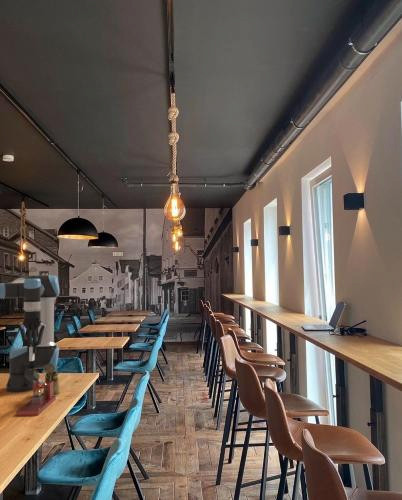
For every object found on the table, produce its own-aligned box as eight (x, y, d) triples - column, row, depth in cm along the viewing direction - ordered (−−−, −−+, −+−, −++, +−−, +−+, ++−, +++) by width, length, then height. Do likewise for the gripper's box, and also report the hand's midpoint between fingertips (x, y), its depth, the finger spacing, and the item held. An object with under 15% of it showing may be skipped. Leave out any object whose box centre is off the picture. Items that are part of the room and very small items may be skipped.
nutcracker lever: (39, 389, 219) (40, 384, 220) (48, 389, 219) (48, 384, 220) (23, 375, 199) (24, 370, 201) (33, 375, 199) (34, 370, 201)
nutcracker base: (36, 400, 222) (36, 380, 222) (55, 399, 222) (55, 380, 223) (16, 415, 197) (16, 393, 197) (38, 415, 197) (38, 393, 198)
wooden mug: (39, 398, 225) (39, 363, 226) (44, 391, 238) (45, 358, 239) (56, 397, 226) (56, 363, 227) (61, 390, 239) (61, 358, 240)
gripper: (15, 311, 201) (14, 362, 200) (43, 311, 201) (42, 361, 200) (21, 310, 209) (21, 359, 207) (48, 309, 209) (48, 358, 207)
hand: (31, 360), depth 203 cm, fingers closed
